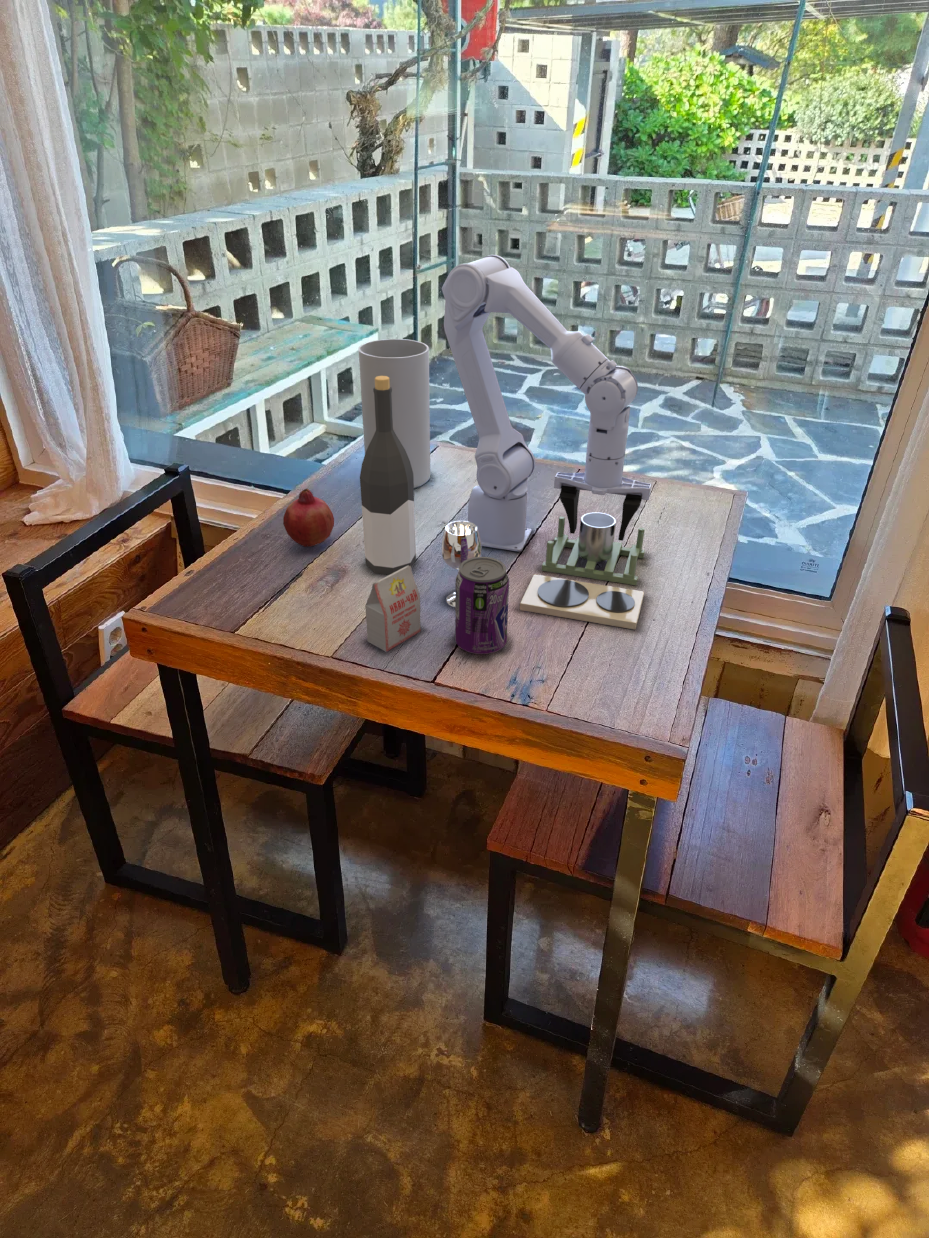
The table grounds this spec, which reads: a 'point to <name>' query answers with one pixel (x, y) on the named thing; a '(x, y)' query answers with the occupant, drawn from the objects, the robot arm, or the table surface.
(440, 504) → the table surface
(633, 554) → the rack
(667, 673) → the table surface
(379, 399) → the wine bottle
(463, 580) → the beverage can
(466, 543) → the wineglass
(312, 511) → the fruit
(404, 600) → the tea bag
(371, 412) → the cylinder vase
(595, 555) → the pot
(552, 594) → the hob
